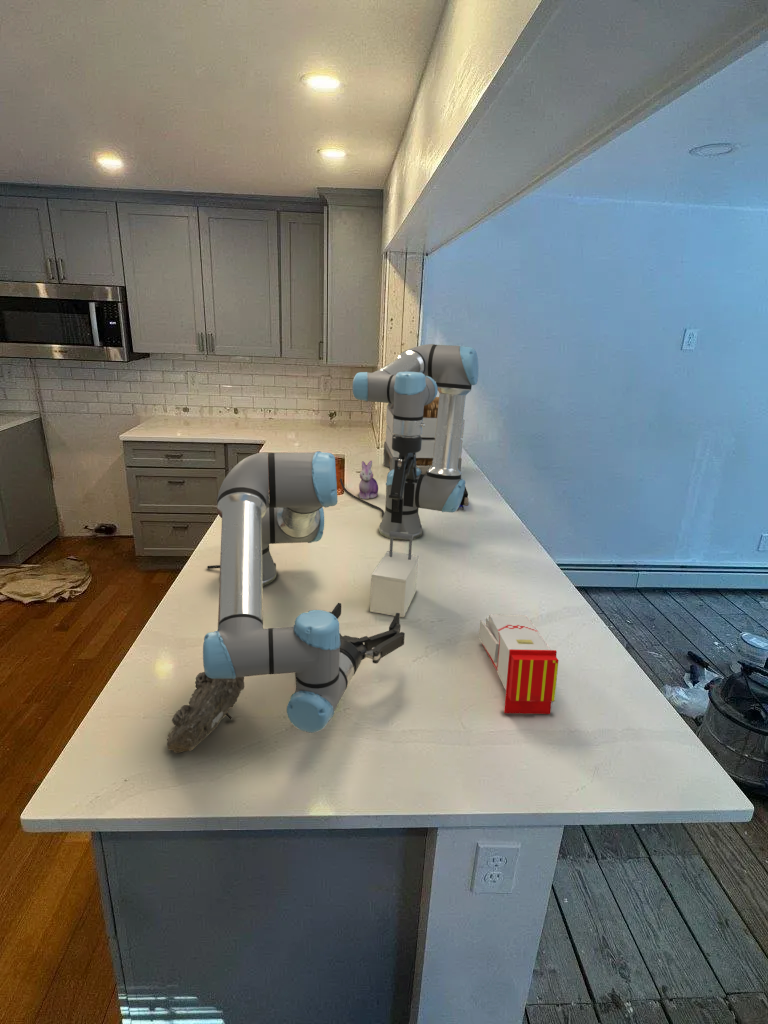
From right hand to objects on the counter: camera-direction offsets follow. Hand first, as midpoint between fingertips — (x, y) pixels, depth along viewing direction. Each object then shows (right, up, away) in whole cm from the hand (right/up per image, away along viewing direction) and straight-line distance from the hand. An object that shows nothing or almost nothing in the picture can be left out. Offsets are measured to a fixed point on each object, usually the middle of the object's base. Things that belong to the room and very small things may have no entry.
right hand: (402, 514), depth 150 cm
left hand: (-8, -22, -23) cm, 33 cm away
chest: (-2, -24, +3) cm, 24 cm away
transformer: (+12, +19, +125) cm, 127 cm away
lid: (-2, -14, +1) cm, 14 cm away
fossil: (-38, -39, -42) cm, 69 cm away
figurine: (-12, +7, +88) cm, 89 cm away
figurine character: (+25, +3, +81) cm, 85 cm away
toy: (+23, -35, -25) cm, 49 cm away
